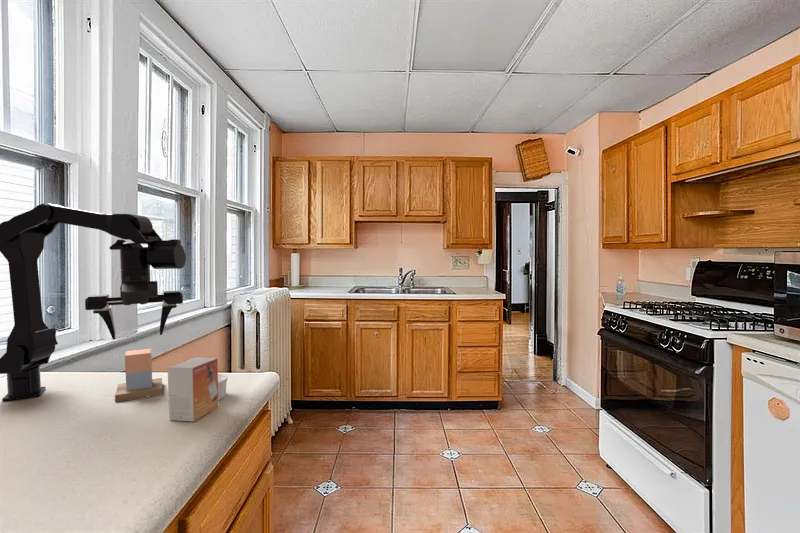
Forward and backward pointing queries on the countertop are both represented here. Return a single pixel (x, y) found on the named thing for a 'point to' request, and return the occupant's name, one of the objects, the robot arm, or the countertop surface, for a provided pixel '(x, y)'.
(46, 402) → the countertop surface
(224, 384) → the ramekin
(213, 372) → the small box
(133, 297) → the robot arm
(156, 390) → the base plate
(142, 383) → the slate brick
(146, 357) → the terracotta brick
